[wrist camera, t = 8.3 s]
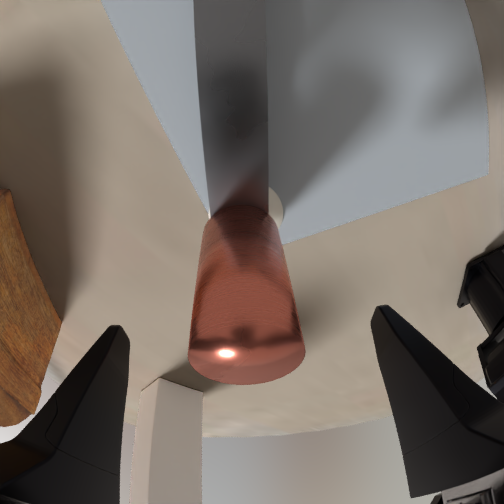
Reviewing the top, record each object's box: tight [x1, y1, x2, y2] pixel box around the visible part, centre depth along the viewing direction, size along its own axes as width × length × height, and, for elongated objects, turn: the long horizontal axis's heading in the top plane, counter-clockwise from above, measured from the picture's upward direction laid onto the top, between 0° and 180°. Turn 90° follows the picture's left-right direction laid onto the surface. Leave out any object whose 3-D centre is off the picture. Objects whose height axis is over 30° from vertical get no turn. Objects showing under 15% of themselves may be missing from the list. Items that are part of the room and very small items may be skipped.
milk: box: [129, 378, 203, 504], centre depth 22 cm, size 6×6×22 cm
